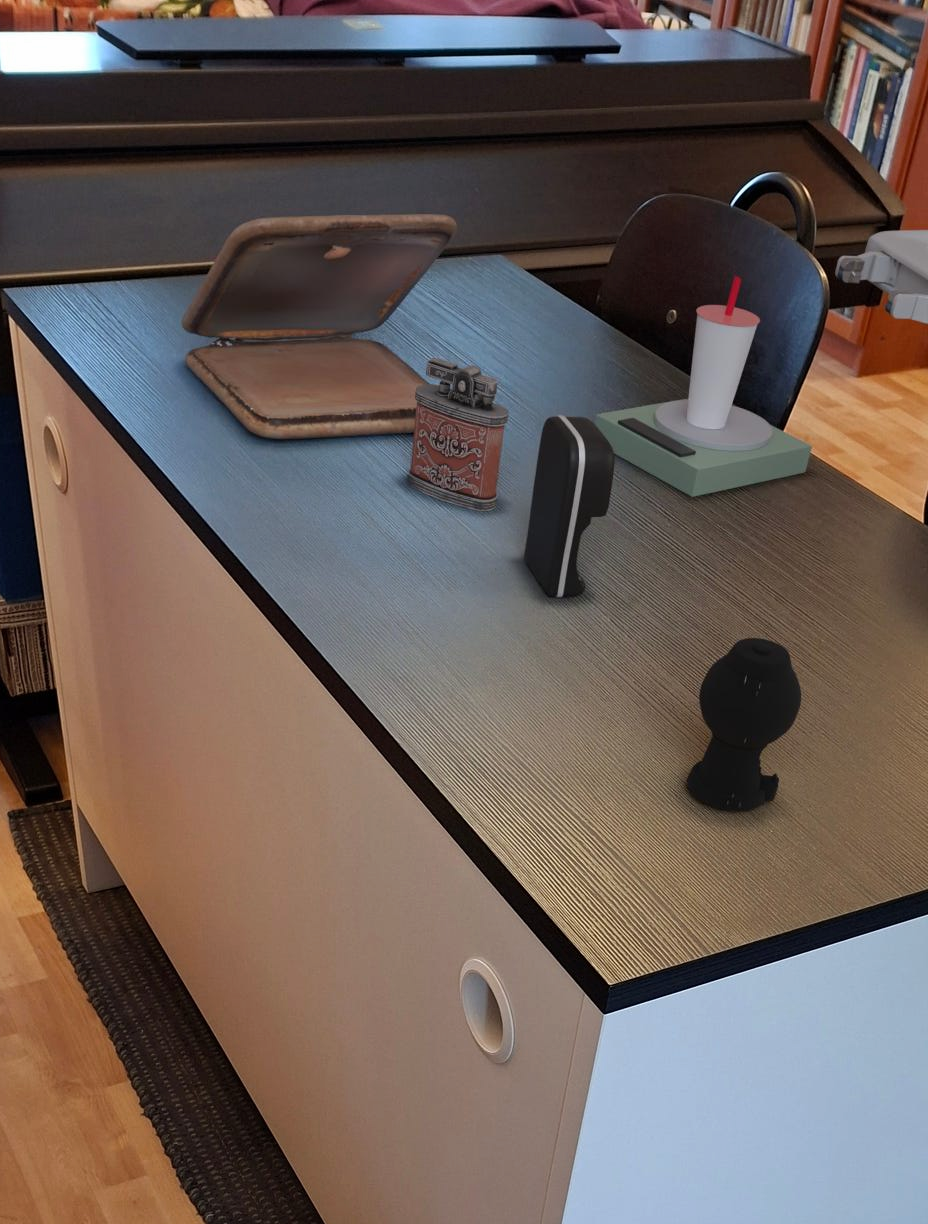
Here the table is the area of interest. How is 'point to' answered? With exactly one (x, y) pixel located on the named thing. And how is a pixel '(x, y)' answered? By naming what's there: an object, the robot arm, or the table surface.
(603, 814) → the table surface
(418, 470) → the lighter
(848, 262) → the robot arm
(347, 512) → the table surface
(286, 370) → the case
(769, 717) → the gumball machine
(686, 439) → the kitchen scale
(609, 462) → the battery charger
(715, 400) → the cup
